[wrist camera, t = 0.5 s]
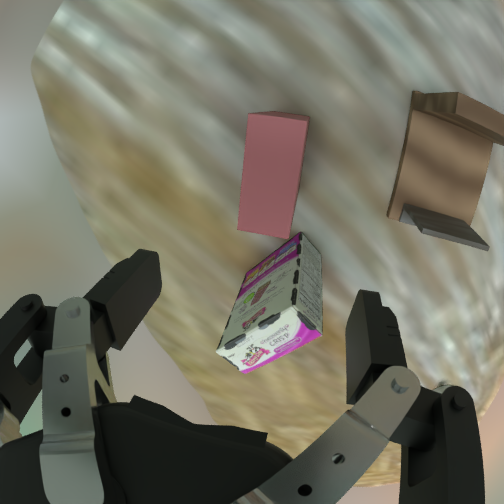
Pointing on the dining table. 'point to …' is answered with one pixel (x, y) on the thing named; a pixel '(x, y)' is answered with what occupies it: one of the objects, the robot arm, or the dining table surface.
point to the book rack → (445, 165)
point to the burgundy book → (271, 172)
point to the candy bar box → (275, 307)
